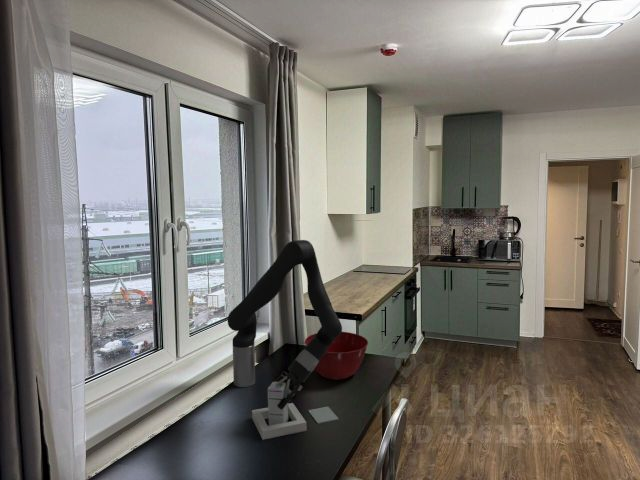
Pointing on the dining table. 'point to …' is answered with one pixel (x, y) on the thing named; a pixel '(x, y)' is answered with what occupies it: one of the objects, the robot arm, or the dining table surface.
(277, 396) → the syrup box
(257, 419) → the hollow square frame
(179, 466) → the dining table surface
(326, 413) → the rubber mat
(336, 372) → the mixing bowl
